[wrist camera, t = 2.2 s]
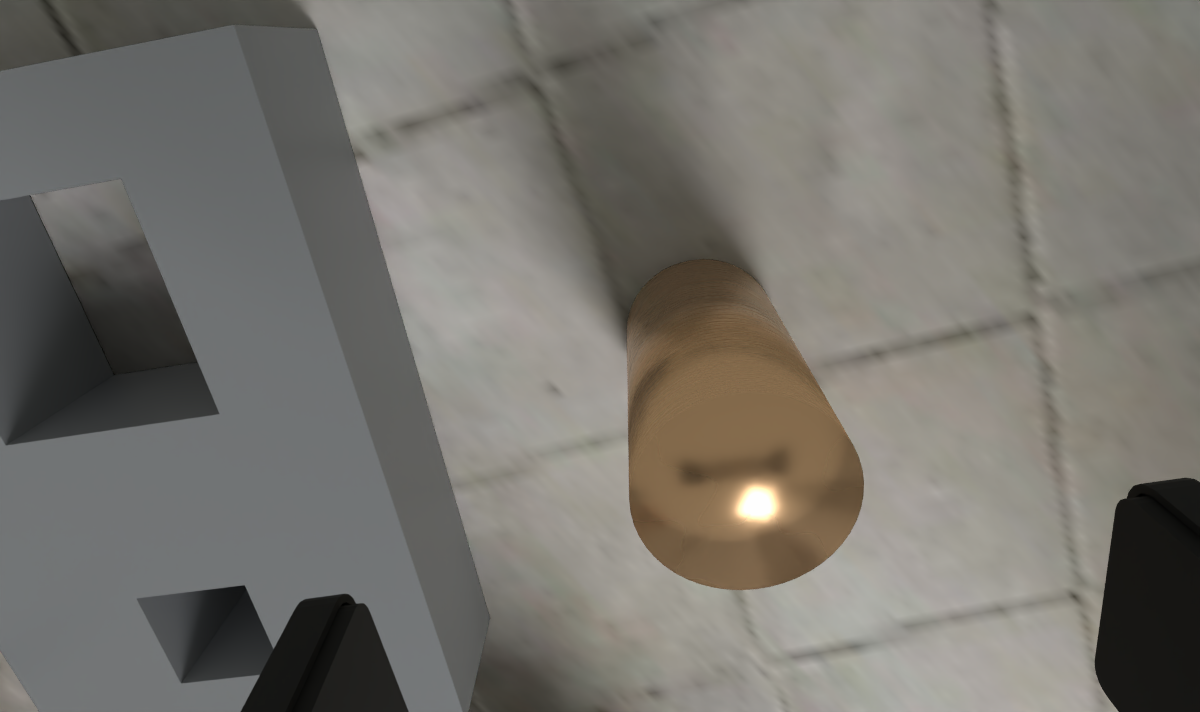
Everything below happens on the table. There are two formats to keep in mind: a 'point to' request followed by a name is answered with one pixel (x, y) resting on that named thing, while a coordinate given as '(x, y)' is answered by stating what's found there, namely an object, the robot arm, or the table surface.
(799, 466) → the tan cylinder
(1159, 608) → the robot arm
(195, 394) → the block
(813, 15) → the table surface
